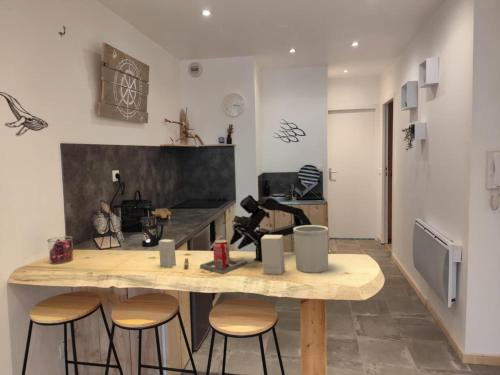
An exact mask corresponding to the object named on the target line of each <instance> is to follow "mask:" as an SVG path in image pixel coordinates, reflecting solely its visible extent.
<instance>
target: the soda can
mask: <svg viewBox="0 0 500 375" xmlns="http://www.w3.org/2000/svg"><path fill="white" fill-rule="evenodd" d="M212 250H213V260H214V265H213V266H214V267H215V268H219V269H223V268H226V267H228V266H231V264H230V257H231V256H230V243H229V242H228V239H221V238H220V239H215V240H214V243H213V249H212Z"/></svg>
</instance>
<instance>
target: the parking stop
mask: <svg viewBox="0 0 500 375" xmlns="http://www.w3.org/2000/svg"><path fill="white" fill-rule="evenodd" d="M183 264H184V270H188V269H189V258H188V257H187V258H184V263H183Z"/></svg>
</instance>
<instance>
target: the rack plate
mask: <svg viewBox="0 0 500 375" xmlns="http://www.w3.org/2000/svg"><path fill="white" fill-rule="evenodd" d="M247 265H248V261H247V260H243V259H239V258H235V257H231V256H230V265H229V266H228V267H226V268H223V269H219V268H217V267H215V265H214V259H213V260H211V261H208V262H205V263H202V264H200V265H199V268H200V269H202V270H206V271H210V272H213V273H218V274H222V275H224V274H226V273H229V272H231V271H234V270H236V269H239V268H241V267H244V266H247Z"/></svg>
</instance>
